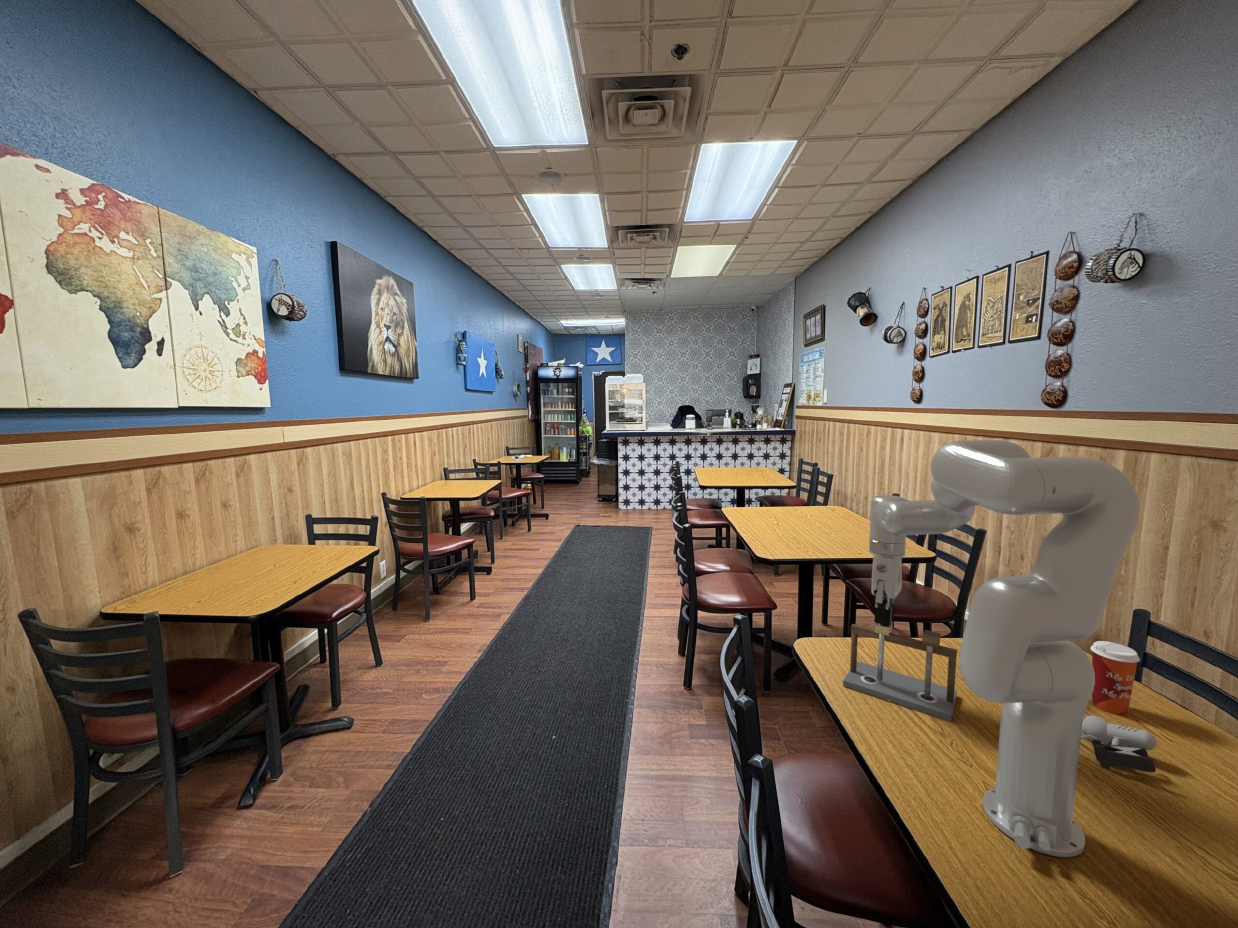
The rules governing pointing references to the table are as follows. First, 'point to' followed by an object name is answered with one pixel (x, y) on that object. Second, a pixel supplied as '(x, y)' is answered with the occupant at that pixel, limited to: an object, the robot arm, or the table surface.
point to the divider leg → (882, 641)
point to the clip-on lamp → (1115, 753)
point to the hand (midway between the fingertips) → (883, 620)
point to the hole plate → (901, 690)
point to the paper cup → (1113, 676)
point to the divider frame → (927, 644)
